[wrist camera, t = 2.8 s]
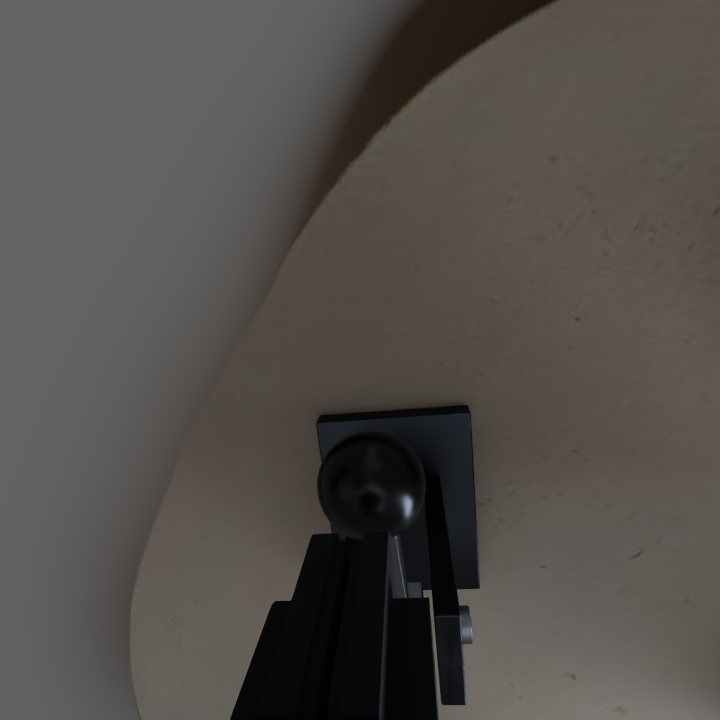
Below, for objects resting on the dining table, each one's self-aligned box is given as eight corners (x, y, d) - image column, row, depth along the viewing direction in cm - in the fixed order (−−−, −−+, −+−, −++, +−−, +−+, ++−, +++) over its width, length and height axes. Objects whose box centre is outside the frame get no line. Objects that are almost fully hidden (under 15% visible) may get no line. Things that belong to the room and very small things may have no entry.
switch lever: (313, 411, 14) (299, 501, 12) (419, 404, 14) (427, 496, 11) (367, 602, 22) (365, 680, 20) (435, 600, 22) (441, 679, 19)
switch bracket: (319, 415, 29) (263, 534, 17) (467, 404, 28) (512, 524, 16) (342, 579, 32) (308, 773, 20) (477, 575, 31) (520, 777, 19)
